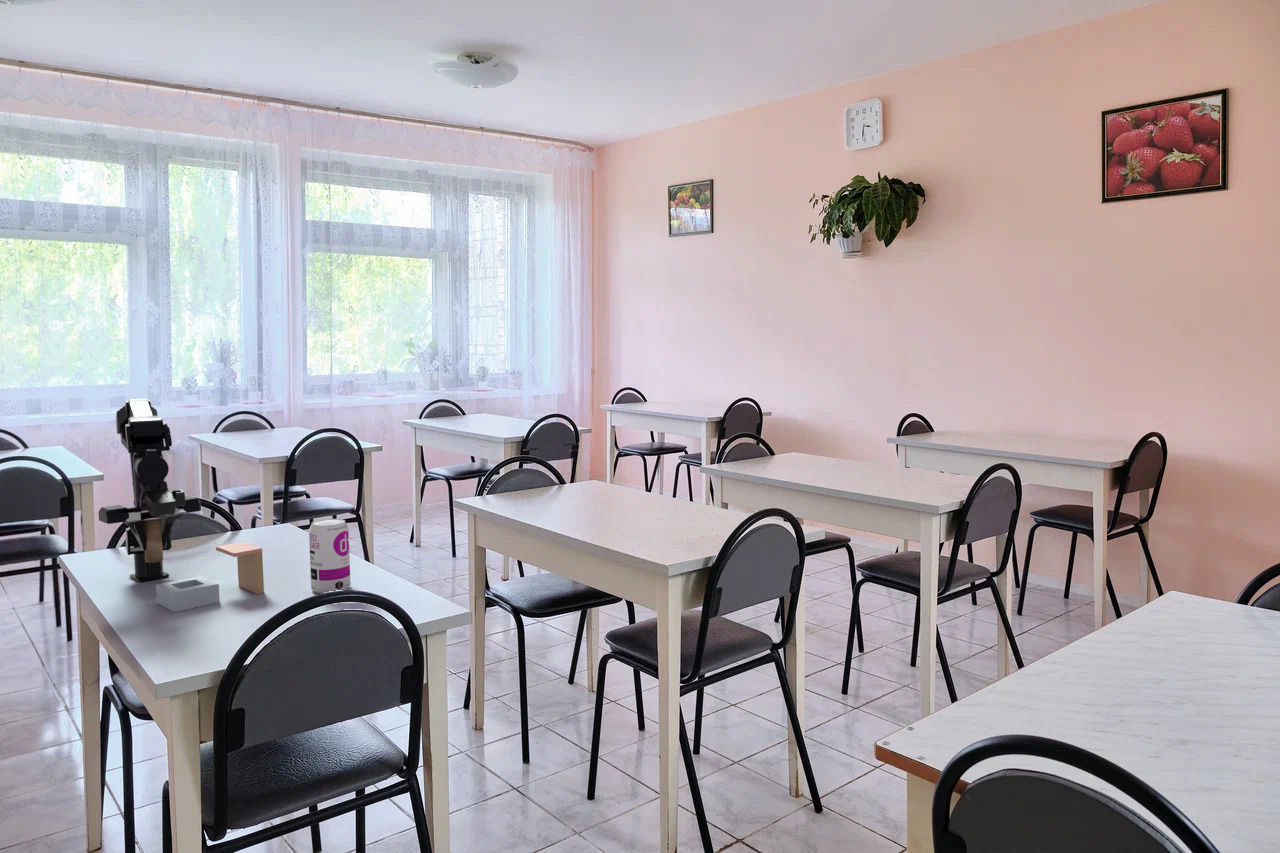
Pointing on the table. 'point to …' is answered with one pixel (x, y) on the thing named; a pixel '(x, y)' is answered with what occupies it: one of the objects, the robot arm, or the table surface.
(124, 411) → the robot arm
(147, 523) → the peg
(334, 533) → the supplement can
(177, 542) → the table surface
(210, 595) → the grey and wooden blocks
